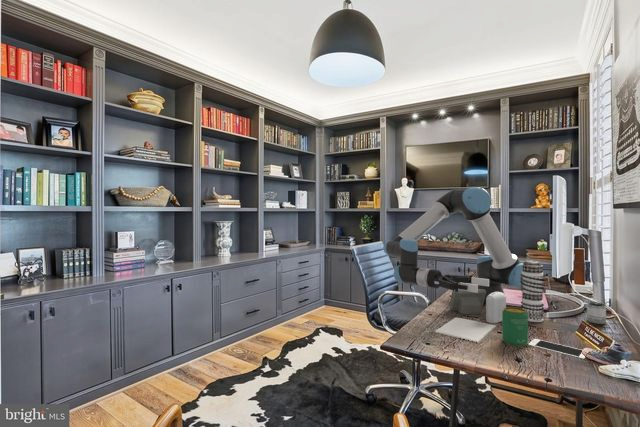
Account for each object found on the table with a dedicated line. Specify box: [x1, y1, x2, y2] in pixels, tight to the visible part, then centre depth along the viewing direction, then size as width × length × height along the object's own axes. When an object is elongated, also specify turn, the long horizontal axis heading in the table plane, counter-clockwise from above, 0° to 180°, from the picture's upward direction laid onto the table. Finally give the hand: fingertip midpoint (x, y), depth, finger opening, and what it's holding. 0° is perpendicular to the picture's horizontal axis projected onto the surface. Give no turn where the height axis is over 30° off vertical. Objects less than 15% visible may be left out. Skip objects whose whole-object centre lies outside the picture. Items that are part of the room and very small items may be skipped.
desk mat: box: [434, 316, 496, 344], centre depth 138 cm, size 22×16×1 cm
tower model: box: [519, 260, 546, 323], centre depth 150 cm, size 9×9×25 cm
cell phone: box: [527, 338, 586, 360], centre depth 119 cm, size 8×16×1 cm, turn 43°
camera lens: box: [586, 301, 607, 325], centre depth 146 cm, size 6×6×8 cm
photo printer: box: [485, 292, 507, 324], centre depth 148 cm, size 10×4×12 cm, turn 123°
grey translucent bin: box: [448, 289, 486, 315], centre depth 161 cm, size 16×9×11 cm, turn 82°
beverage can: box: [501, 306, 529, 348], centre depth 124 cm, size 8×8×12 cm
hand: (483, 285), depth 131 cm, fingers open, 13 cm apart
